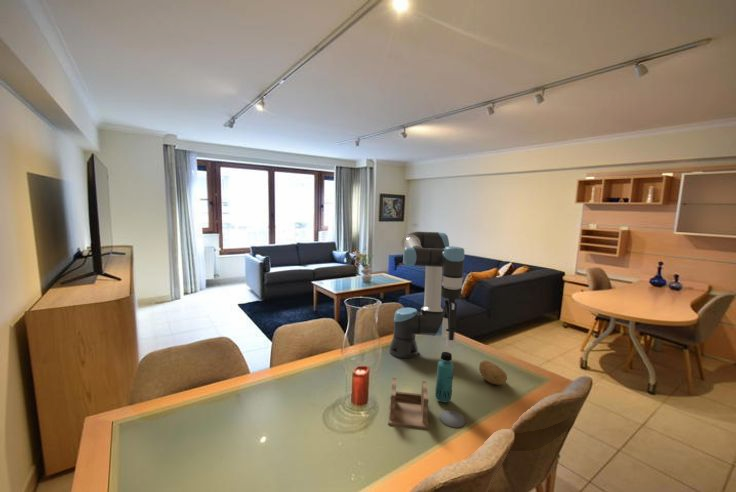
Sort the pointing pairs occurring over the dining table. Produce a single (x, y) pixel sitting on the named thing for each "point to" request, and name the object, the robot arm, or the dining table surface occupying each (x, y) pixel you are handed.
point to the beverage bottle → (444, 378)
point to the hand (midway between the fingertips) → (447, 340)
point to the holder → (408, 408)
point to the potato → (492, 372)
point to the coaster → (452, 419)
